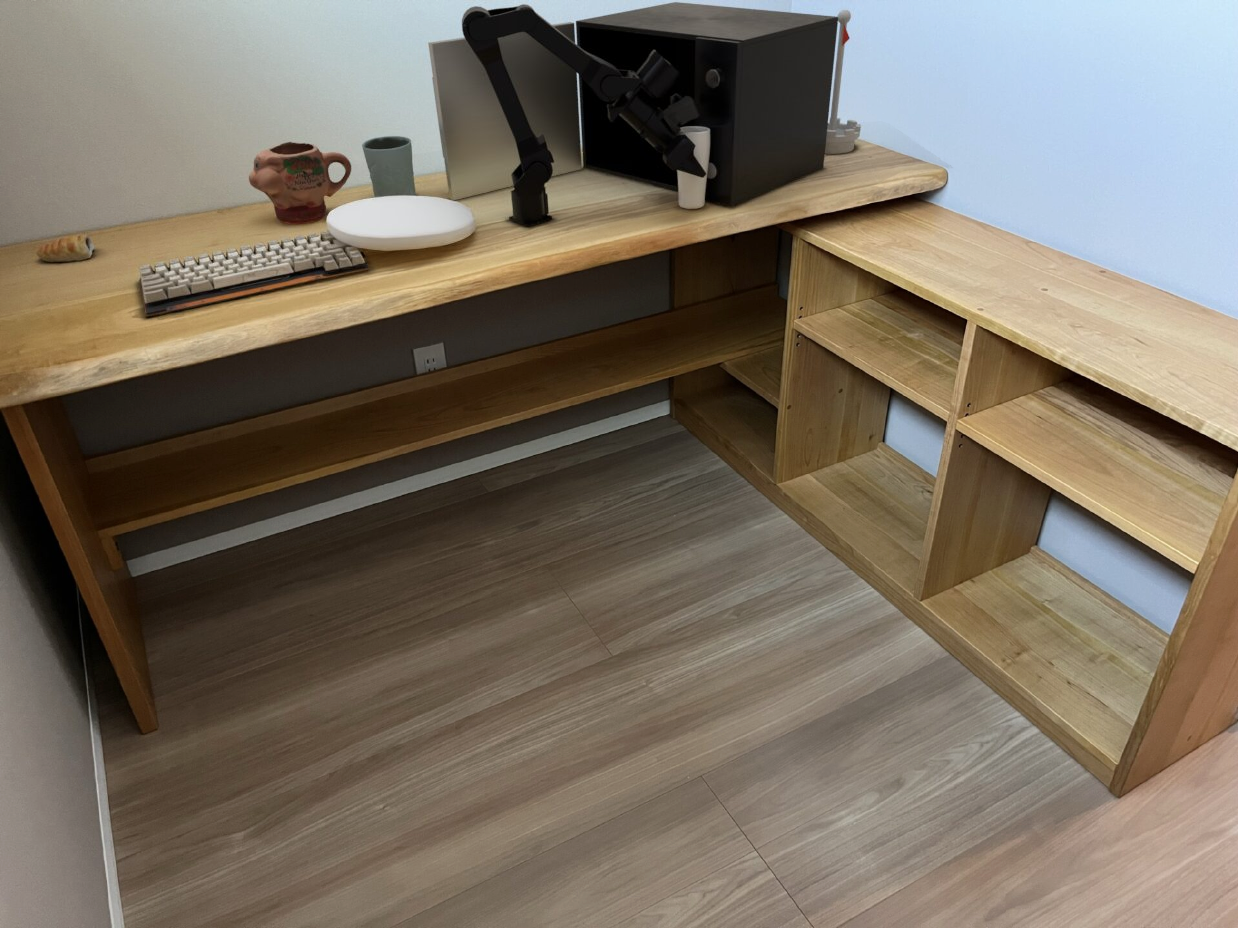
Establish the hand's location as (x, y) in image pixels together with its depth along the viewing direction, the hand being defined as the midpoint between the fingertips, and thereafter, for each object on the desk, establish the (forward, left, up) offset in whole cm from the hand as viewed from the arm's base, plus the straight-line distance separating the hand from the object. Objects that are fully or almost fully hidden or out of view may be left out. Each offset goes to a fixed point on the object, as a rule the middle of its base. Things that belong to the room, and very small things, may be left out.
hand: (700, 170), depth 179 cm
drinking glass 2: (-2, +1, -7) cm, 7 cm away
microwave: (+18, +18, -7) cm, 27 cm away
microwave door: (-16, +43, -7) cm, 46 cm away
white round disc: (-53, +27, -7) cm, 60 cm away
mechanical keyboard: (-81, +32, -8) cm, 87 cm away
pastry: (-102, +67, -8) cm, 122 cm away
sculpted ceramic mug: (-59, +55, -8) cm, 81 cm away
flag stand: (+53, +7, -8) cm, 54 cm away
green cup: (-41, +51, -8) cm, 66 cm away
